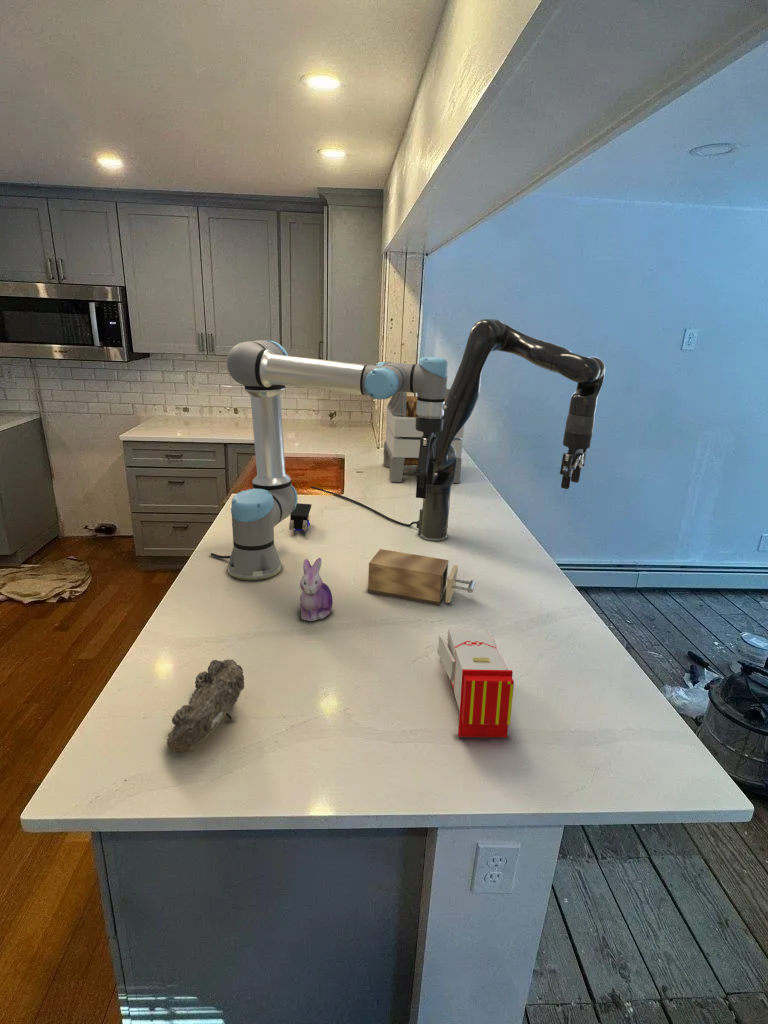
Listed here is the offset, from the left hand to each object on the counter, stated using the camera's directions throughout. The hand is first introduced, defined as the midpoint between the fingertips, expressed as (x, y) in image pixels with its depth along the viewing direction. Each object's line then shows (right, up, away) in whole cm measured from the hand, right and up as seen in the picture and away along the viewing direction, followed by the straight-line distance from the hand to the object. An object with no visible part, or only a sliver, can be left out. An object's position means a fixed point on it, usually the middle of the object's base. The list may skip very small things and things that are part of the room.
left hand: (424, 490), depth 161 cm
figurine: (-29, -32, -15) cm, 46 cm away
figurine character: (-41, -12, +39) cm, 58 cm away
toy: (+6, -44, -43) cm, 61 cm away
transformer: (+6, +13, +114) cm, 115 cm away
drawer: (+1, -28, -3) cm, 28 cm away
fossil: (-44, -45, -53) cm, 83 cm away
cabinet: (-5, -28, -1) cm, 29 cm away
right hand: (+43, +2, +4) cm, 43 cm away
